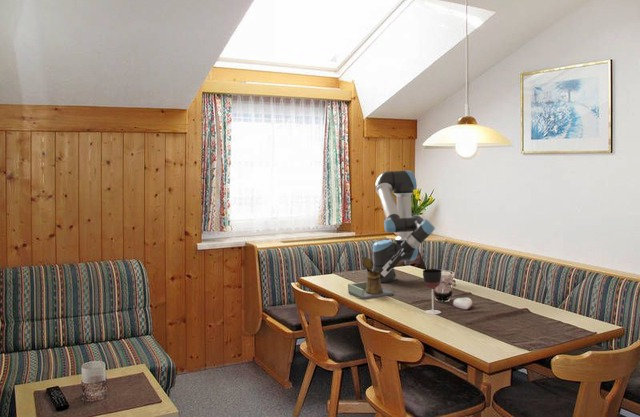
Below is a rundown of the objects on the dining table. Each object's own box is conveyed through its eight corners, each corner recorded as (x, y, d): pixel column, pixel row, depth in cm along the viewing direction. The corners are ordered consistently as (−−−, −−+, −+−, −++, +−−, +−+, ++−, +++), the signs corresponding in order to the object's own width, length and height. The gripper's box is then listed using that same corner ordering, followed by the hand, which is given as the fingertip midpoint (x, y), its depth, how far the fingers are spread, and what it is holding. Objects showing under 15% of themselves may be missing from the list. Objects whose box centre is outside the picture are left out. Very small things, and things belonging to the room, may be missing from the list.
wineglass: (421, 310, 291) (421, 269, 289) (439, 309, 291) (438, 268, 289) (426, 314, 283) (425, 273, 281) (444, 313, 283) (443, 272, 281)
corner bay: (378, 288, 338) (378, 279, 337) (393, 294, 323) (393, 285, 323) (348, 293, 330) (348, 284, 329) (362, 299, 315) (362, 290, 315)
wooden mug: (373, 287, 335) (372, 256, 333) (385, 292, 323) (384, 259, 321) (359, 289, 331) (358, 257, 330) (371, 295, 319) (370, 261, 317)
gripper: (415, 253, 307) (387, 282, 311) (415, 245, 332) (389, 272, 336) (404, 243, 308) (376, 272, 312) (405, 235, 332) (379, 263, 336)
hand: (383, 272), depth 324 cm, fingers open, 13 cm apart
